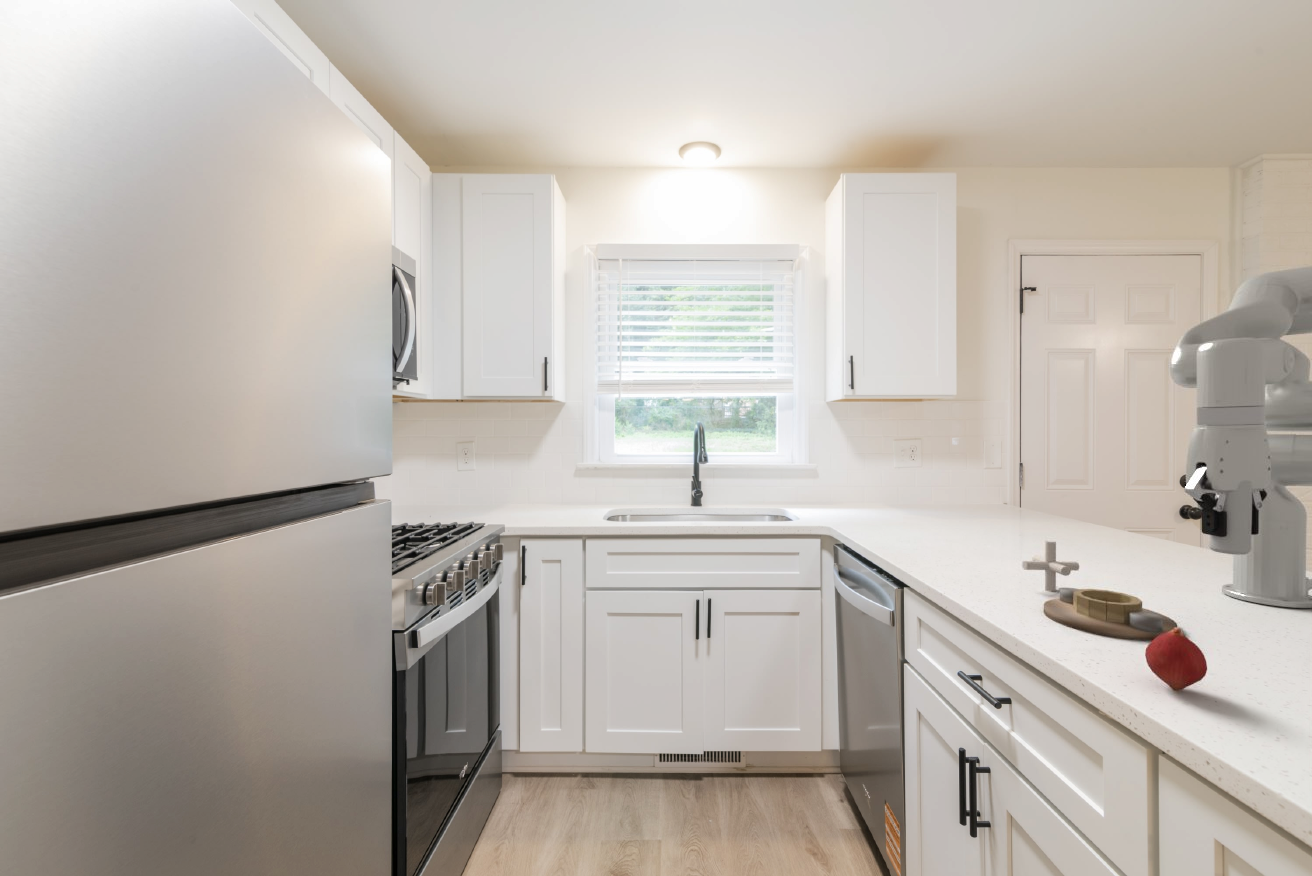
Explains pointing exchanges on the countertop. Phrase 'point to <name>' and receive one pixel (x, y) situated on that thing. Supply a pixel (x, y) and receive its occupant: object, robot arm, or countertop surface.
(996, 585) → the countertop surface
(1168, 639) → the onion
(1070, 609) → the carrier
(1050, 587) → the pipe connector
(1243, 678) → the countertop surface
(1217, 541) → the beverage can
